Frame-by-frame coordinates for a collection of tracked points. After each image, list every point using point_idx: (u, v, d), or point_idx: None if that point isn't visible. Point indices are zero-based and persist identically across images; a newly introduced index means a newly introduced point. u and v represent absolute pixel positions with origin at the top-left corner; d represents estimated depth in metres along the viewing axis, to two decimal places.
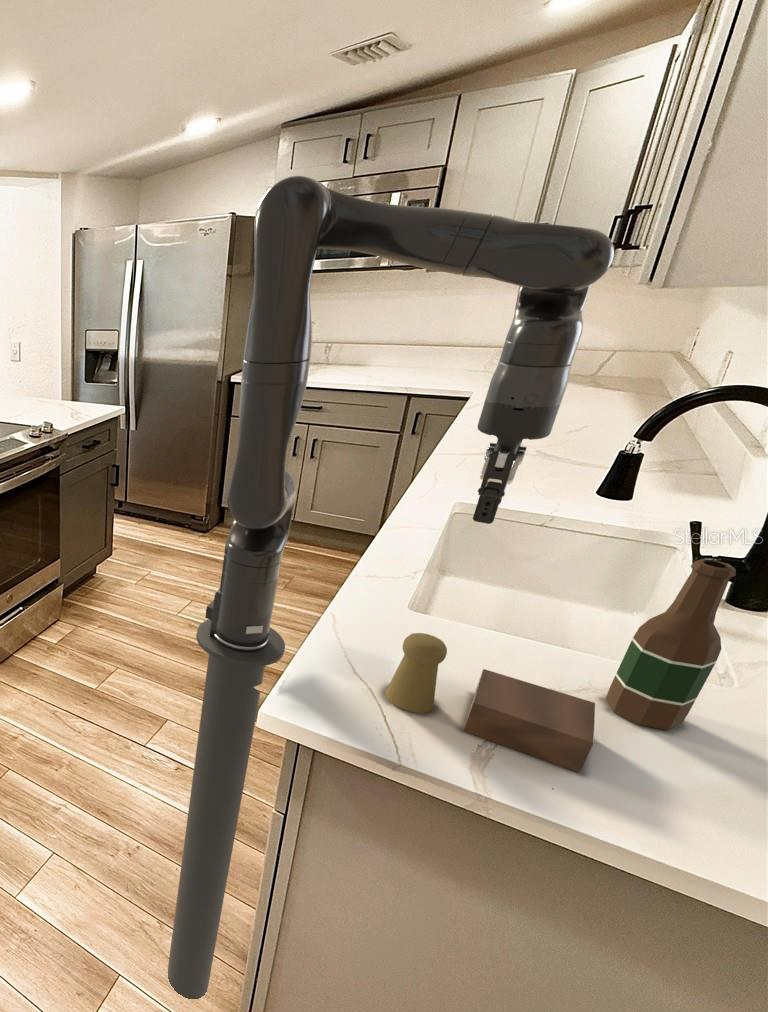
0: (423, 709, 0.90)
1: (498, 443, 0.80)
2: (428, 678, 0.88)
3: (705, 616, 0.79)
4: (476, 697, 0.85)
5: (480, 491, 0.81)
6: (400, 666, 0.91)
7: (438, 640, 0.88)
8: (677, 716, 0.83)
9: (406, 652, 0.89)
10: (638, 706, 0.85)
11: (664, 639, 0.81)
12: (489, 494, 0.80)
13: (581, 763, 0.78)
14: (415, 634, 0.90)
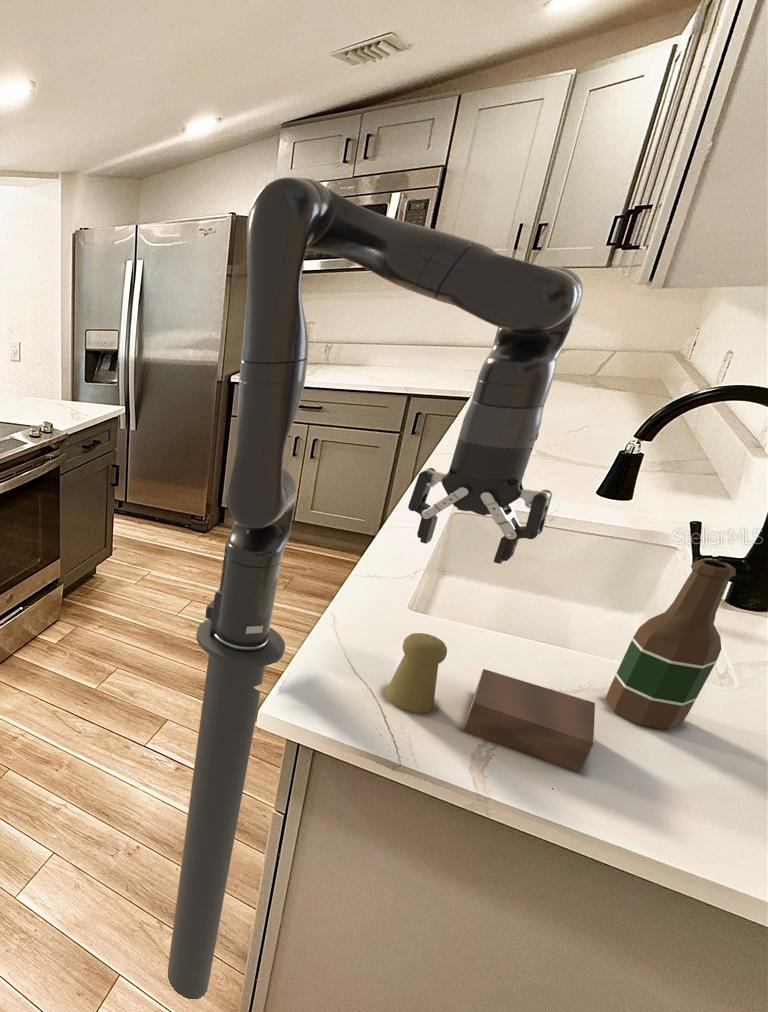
0: (423, 709, 0.90)
1: (516, 485, 0.77)
2: (428, 678, 0.88)
3: (705, 616, 0.79)
4: (476, 697, 0.85)
5: (536, 535, 0.77)
6: (400, 666, 0.91)
7: (438, 640, 0.88)
8: (677, 716, 0.83)
9: (406, 652, 0.89)
10: (638, 706, 0.85)
11: (664, 639, 0.81)
12: (537, 534, 0.77)
13: (581, 763, 0.78)
14: (415, 634, 0.90)
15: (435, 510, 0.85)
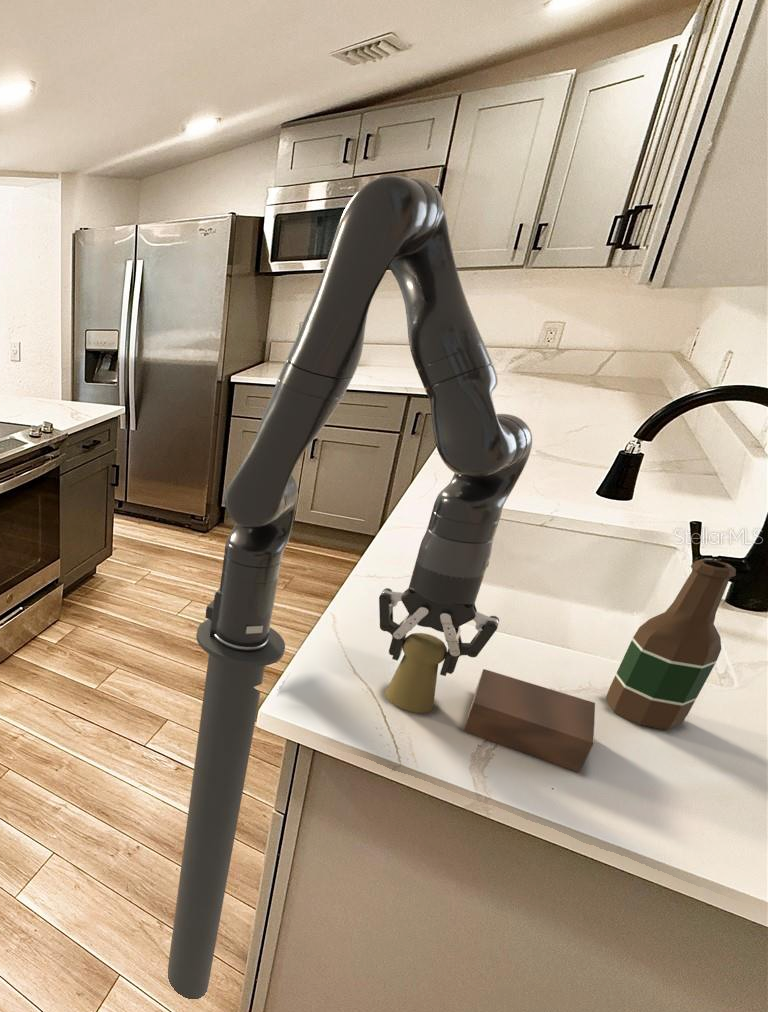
0: (423, 709, 0.90)
1: (471, 608, 0.82)
2: (428, 678, 0.88)
3: (705, 616, 0.79)
4: (476, 697, 0.85)
5: None
6: (400, 666, 0.91)
7: (438, 640, 0.88)
8: (677, 716, 0.83)
9: (405, 652, 0.89)
10: (638, 706, 0.85)
11: (664, 639, 0.81)
12: None
13: (581, 763, 0.78)
14: (415, 634, 0.90)
15: (404, 630, 0.89)
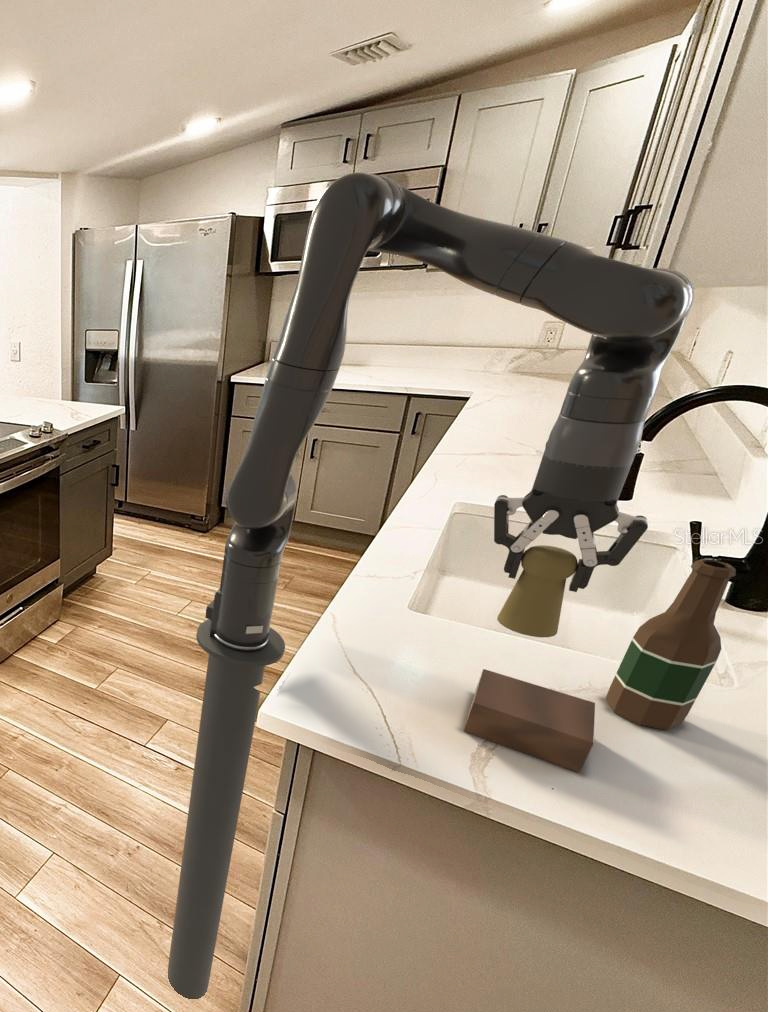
0: (547, 633, 0.78)
1: (614, 506, 0.71)
2: (555, 596, 0.76)
3: (705, 616, 0.79)
4: (476, 697, 0.85)
5: (619, 563, 0.72)
6: (518, 585, 0.79)
7: (566, 551, 0.76)
8: (677, 716, 0.83)
9: (527, 567, 0.77)
10: (638, 706, 0.85)
11: (664, 639, 0.81)
12: None
13: (581, 763, 0.78)
14: (537, 546, 0.78)
15: (525, 541, 0.77)
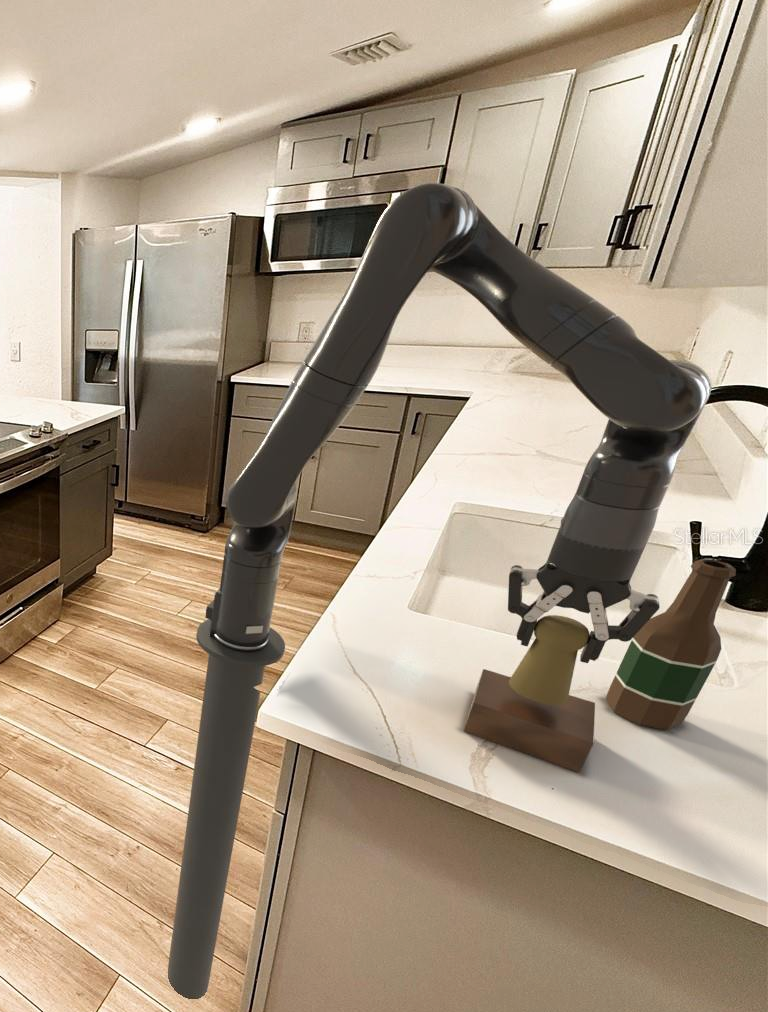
0: (558, 701, 0.80)
1: (627, 585, 0.72)
2: (567, 666, 0.78)
3: (705, 616, 0.79)
4: (476, 697, 0.85)
5: (630, 639, 0.74)
6: (530, 652, 0.81)
7: (578, 623, 0.78)
8: (677, 716, 0.83)
9: (540, 637, 0.79)
10: (638, 706, 0.85)
11: (664, 639, 0.81)
12: None
13: (581, 763, 0.78)
14: (549, 616, 0.80)
15: (539, 612, 0.79)
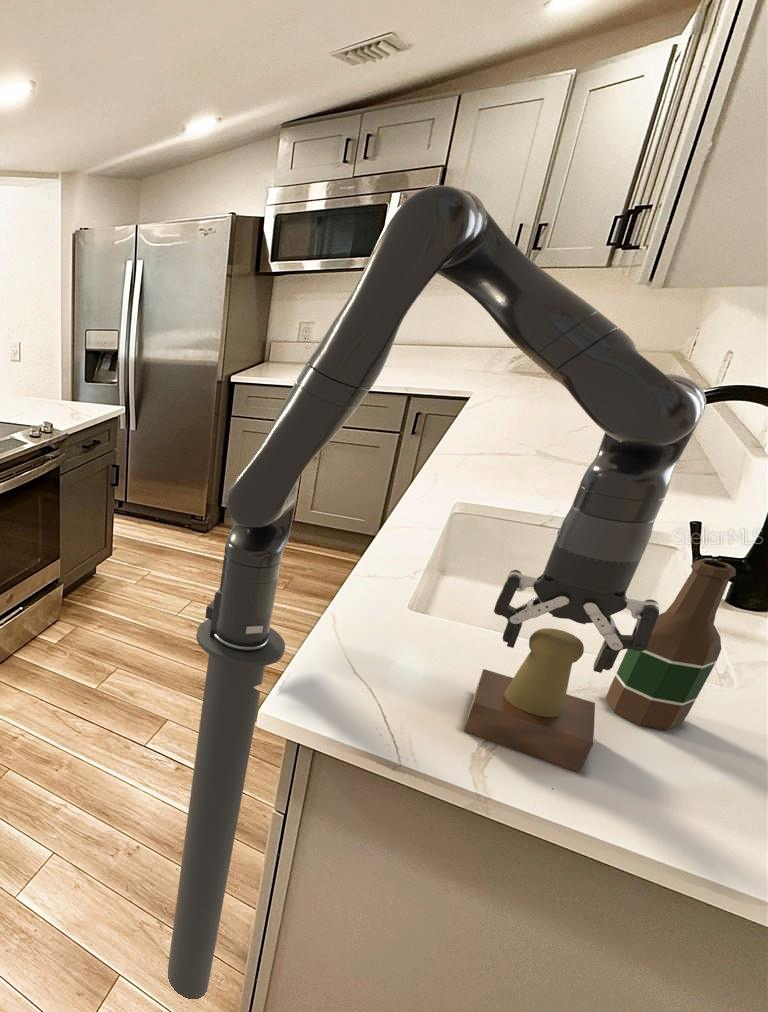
0: (553, 713, 0.81)
1: (623, 596, 0.73)
2: (561, 679, 0.79)
3: (705, 616, 0.79)
4: (476, 697, 0.85)
5: (646, 647, 0.73)
6: (525, 665, 0.82)
7: (573, 636, 0.79)
8: (677, 716, 0.83)
9: (534, 650, 0.80)
10: (638, 706, 0.85)
11: (664, 639, 0.81)
12: None
13: (581, 763, 0.78)
14: (544, 629, 0.81)
15: (526, 616, 0.80)
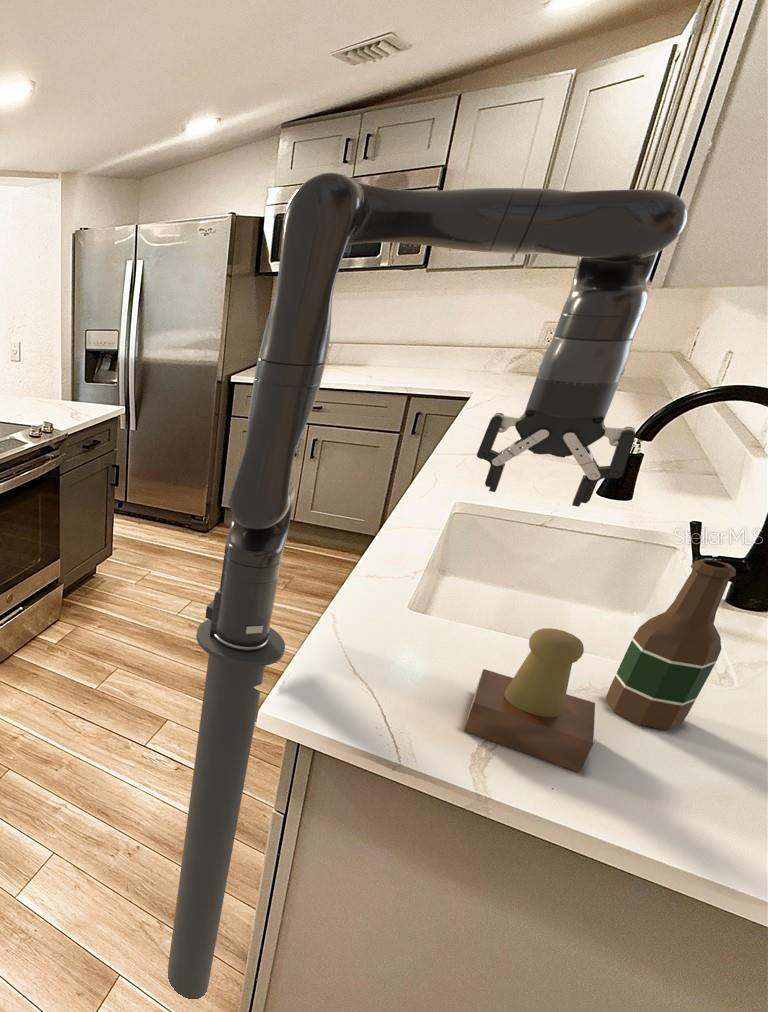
0: (553, 713, 0.81)
1: (601, 423, 0.75)
2: (561, 679, 0.79)
3: (705, 616, 0.79)
4: (476, 697, 0.85)
5: (622, 474, 0.75)
6: (525, 665, 0.82)
7: (573, 636, 0.79)
8: (677, 716, 0.83)
9: (534, 650, 0.80)
10: (638, 706, 0.85)
11: (664, 639, 0.81)
12: None
13: (581, 763, 0.78)
14: (544, 629, 0.81)
15: (508, 456, 0.82)
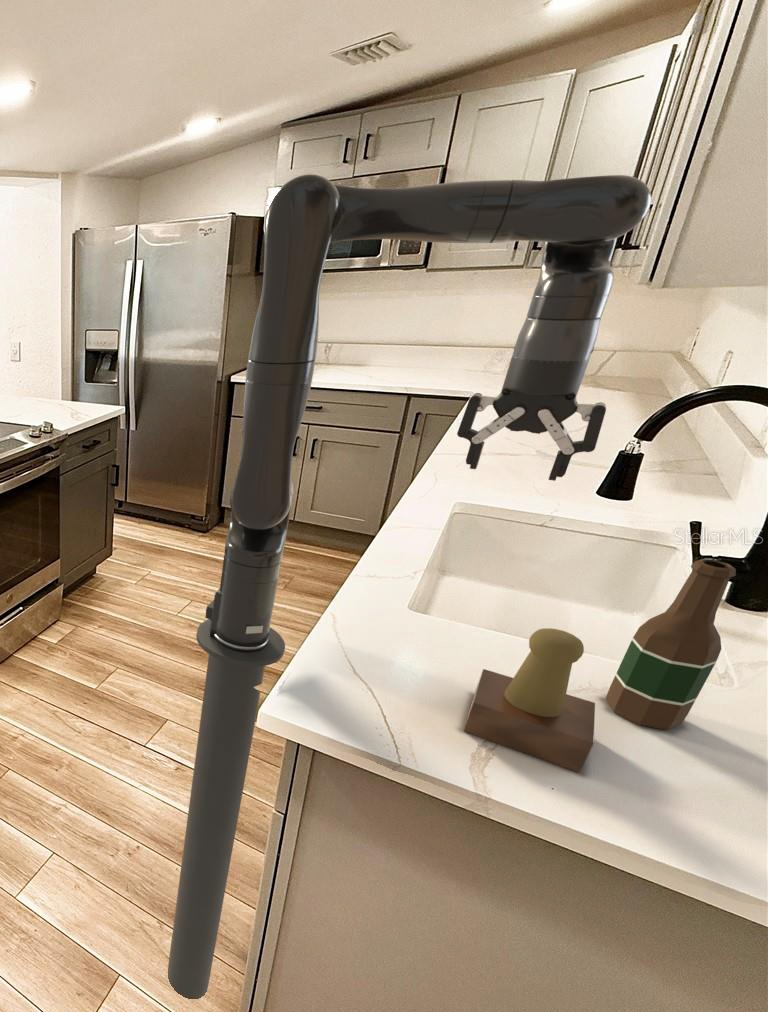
0: (553, 713, 0.81)
1: (573, 400, 0.78)
2: (561, 679, 0.79)
3: (705, 616, 0.79)
4: (476, 697, 0.85)
5: None
6: (525, 665, 0.82)
7: (573, 636, 0.79)
8: (677, 716, 0.83)
9: (534, 650, 0.80)
10: (638, 706, 0.85)
11: (664, 639, 0.81)
12: None
13: (581, 763, 0.78)
14: (544, 629, 0.81)
15: (487, 434, 0.85)
